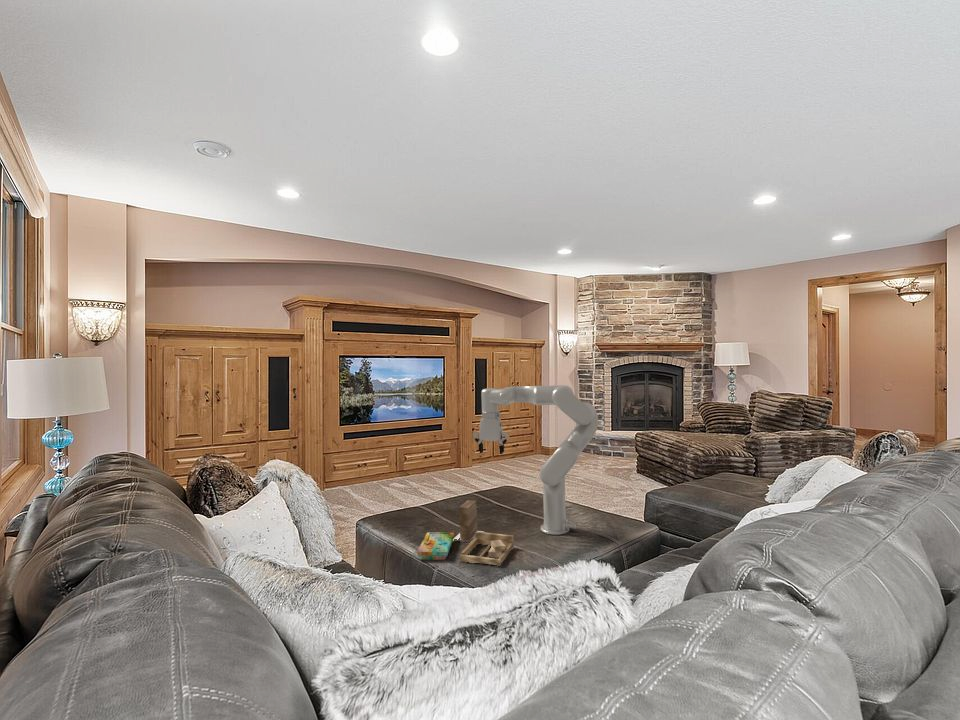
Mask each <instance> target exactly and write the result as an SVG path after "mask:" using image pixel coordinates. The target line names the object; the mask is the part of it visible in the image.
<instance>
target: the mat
mask: <svg viewBox="0 0 960 720" xmlns="http://www.w3.org/2000/svg"><path fill="white" fill-rule="evenodd" d="M477 532H484V531H482V530H477ZM459 538H460V532H459V533H458V534H457V535H456V536H454V538H453V541H452V542H454V539H457V540H458V539H459ZM472 538H473V539H474V538H475V535H474V536H473V537H472Z"/></svg>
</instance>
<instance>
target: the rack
mask: <svg viewBox="0 0 960 720" xmlns="http://www.w3.org/2000/svg"><path fill="white" fill-rule="evenodd" d="M514 536H515V535H513V534H504V533H503V534H501V533H492V532H485V531H483V532H475V538H474V539H473V540H472V541H471V542H470V543H468V545H466V547H465V548H463V550H461V552H460V555H459V563H460V562H461V563H467V562H469V563H468V564H474V563H485V564H494V565H500V564H501V563H502V562H503V560H504V559H505V557H506V556H507V555H508V553H509V552H510V551H511V550H512V548H513V547H514V548H515V544H514V543H515V540H514V539H515V538H514ZM494 540H501V541H502V543H503V544H504V545H505V547H506V549H505V551H503V553H502V554H501V555H500V556H499V558H498V559H495V558H489V557H485V556H483V557H482V555H483V554H484V553H485V552H486V550H487V549H488V548H489V547H490V546H491V541H494ZM478 543H480V544H489V545H488V546H486V548H485V549H484V550H483V552H481V554H480V555H479V556H478V555H470V554H471V553H472V552H473V551H472V549H473V548H474V547H475V546H476V545H477V544H478ZM514 548H513V549H514ZM471 551H472V552H471ZM512 551H513V550H512ZM512 551H511V552H512ZM470 552H471V553H470ZM511 552H510V553H511ZM469 553H470V554H469ZM468 554H469V555H468ZM508 556H509V555H508ZM505 560H506V559H505ZM503 563H504V562H503ZM503 563H502V564H503Z"/></svg>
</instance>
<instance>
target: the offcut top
mask: <svg viewBox="0 0 960 720" xmlns="http://www.w3.org/2000/svg"><path fill="white" fill-rule="evenodd" d="M491 547H492V548H493V550H494V551H495V552H499V551H505V545H504V544H503V543H502V541H501V540H494V541H491Z"/></svg>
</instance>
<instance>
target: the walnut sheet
mask: <svg viewBox="0 0 960 720" xmlns="http://www.w3.org/2000/svg"><path fill="white" fill-rule="evenodd" d="M458 509H459V512H458V513H459V533H460V540H470V539H471V538H472V537H473V536H474V535H475V532H477V531H478V518H477V517H478V516H477V513H478V511H477V500H472V499H467V500H466V501H465V502H464V503H462V504H461V505H460V506H459V507H458Z"/></svg>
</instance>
